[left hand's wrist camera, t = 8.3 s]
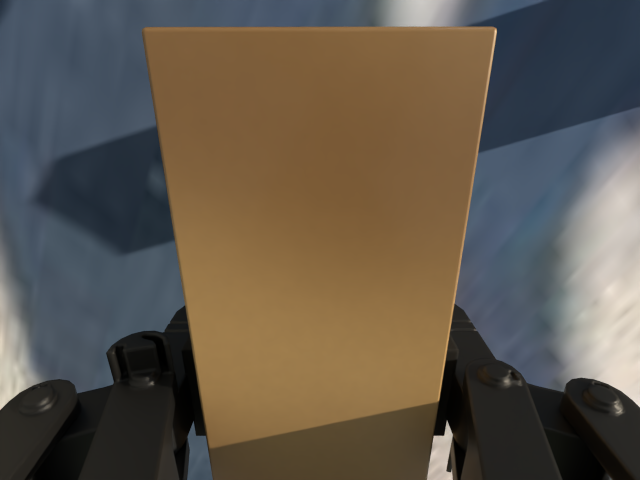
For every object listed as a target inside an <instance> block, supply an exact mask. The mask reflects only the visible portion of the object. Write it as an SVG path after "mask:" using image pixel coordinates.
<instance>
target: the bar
mask: <svg viewBox="0 0 640 480" xmlns="http://www.w3.org/2000/svg"><path fill="white" fill-rule="evenodd" d="M496 34H497V29H496V28H494V27H145V28H143V29H142V36H143V43H144V49H145V55H146V61H147V68H148V74H149V80H150V87H151V93H152V99H153V105H154V112H155V118H156V124H157V131H158V137H159V143H160V149H161V156H162V162H163V168H164V175H165V181H166V187H167V193H168V200H169V206H170V212H171V219H172V225H173V231H174V237H175V244H176V250H177V256H178V263H179V269H180V275H181V282H182V288H183V294H184V300H185V307H186V313H187V319H188V326H189V332H190V338H191V344H192V351H193V357H194V363H195V370H196V376H197V382H198V388H199V395H200V401H201V407H202V414H203V420H204V426H205V432H206V439H207V445H208V451H209V458H210V464H211V470H212V476H213V480H427V474H428V468H429V462H430V455H431V449H432V442H433V436H434V430H435V423H436V417H437V411H438V404H439V398H440V391H441V385H442V379H443V372H444V366H445V360H446V353H447V347H448V340H449V334H450V328H451V321H452V315H453V309H454V302H455V296H456V289H457V283H458V277H459V270H460V264H461V257H462V251H463V245H464V238H465V232H466V226H467V219H468V213H469V206H470V200H471V194H472V187H473V181H474V175H475V168H476V162H477V155H478V149H479V143H480V136H481V130H482V124H483V117H484V111H485V104H486V98H487V92H488V85H489V79H490V73H491V66H492V60H493V53H494V47H495V41H496Z"/></svg>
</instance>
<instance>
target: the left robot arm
mask: <svg viewBox="0 0 640 480" xmlns="http://www.w3.org/2000/svg"><path fill="white" fill-rule="evenodd" d="M106 354H107V358H108V362H109V365H110V369H111V373H112V376H113V380H114V384H113V385H110V386H107V387H104V388H99V389H95V390H91V391H86V392H82V393H77V392H76V388H75V385H74V384H72V383H71V382H70V381H68V380H61V379H57V380H50V381H45V382H42V383H39V384H36V385H34V386H32V387H30V388H28V389H26V390H24V391H22V392H20V393H19V394H18V395H17V396H15V397H14V398H13V399H12V400H10V401H9V402H8V403H7V404H6V405H5V406H4V407H3V408H2V409H1V410H0V480H187V475H188V463H189V452H190V449H189V443H188V438H187V436H188V434H189V431H190V428H191V426H192V423H193V421H194V426H195V431H196V436H206V432H205V426H204V420H203V414H202V407H201V401H200V395H199V388H198V382H197V376H196V370H195V363H194V357H193V351H192V344H191V338H190V332H189V326H188V319H187V313H186V307H185V306H184V307H182V308H181V309H180V310H178V311H177V312H176V314H175V315H174V317H173V318H172V320H171V321H170V324H168V326H167V327H166V329H165V332H163V333H162V332H158V331H142V332H138V333H134V334H131V335H129V336H126V337H124V338H122V339H120V340H119V341H117V342H116V343H115V344H113V345H112V346H111V347H110V349H109V350H108V351H107V353H106ZM447 421H448V423H449V426H450V428H451V431H452V434H453V438H452V443H451V448H450V454H449V459H448V464H447V472H451V470H452V474H453V480H640V407H639V406H638V405H637V404H636V403H635V402H634V401H633V400H631V399H630V398H629V397H628V396H626V395H625V394H624V393H623V392H621V391H620V390H618V389H616V388H614V387H612V386H610V385H608V384H606V383H603V382H600V381H597V380H594V379H587V378H577V379H572V380H570V381H569V382H568V383H567V384H566V387H565V390H564V392H561V391H556V390H552V389H547V388H543V387H539V386H535V385H532V384H528V383H526V381H525V379H524V378H523V376H522V375H521V373H519V372H518V371H517V370H516V369H515V368H513V367H512V366H510V365H508V364H506V363H504V362H502V361H499V360H496V359H495V357H494V356H493V354H492V353H491V351H490V350H489V348H488V347H487V345H486V343H485V342H484V340H483V339H482V337H481V336H480V334H479V333H478V331H476V328H475V327H474V325H473V324H472V322H470V319H469V318H468V316H467V315H466V313H465V312H464V310H462V309H461V308H460V307H458V306H457V305H456V304H454V309H453V315H452V321H451V328H450V334H449V340H448V347H447V353H446V360H445V366H444V372H443V379H442V385H441V391H440V398H439V404H438V411H437V417H436V423H435V430H434V436H444V433H445V427H446V422H447Z"/></svg>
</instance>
